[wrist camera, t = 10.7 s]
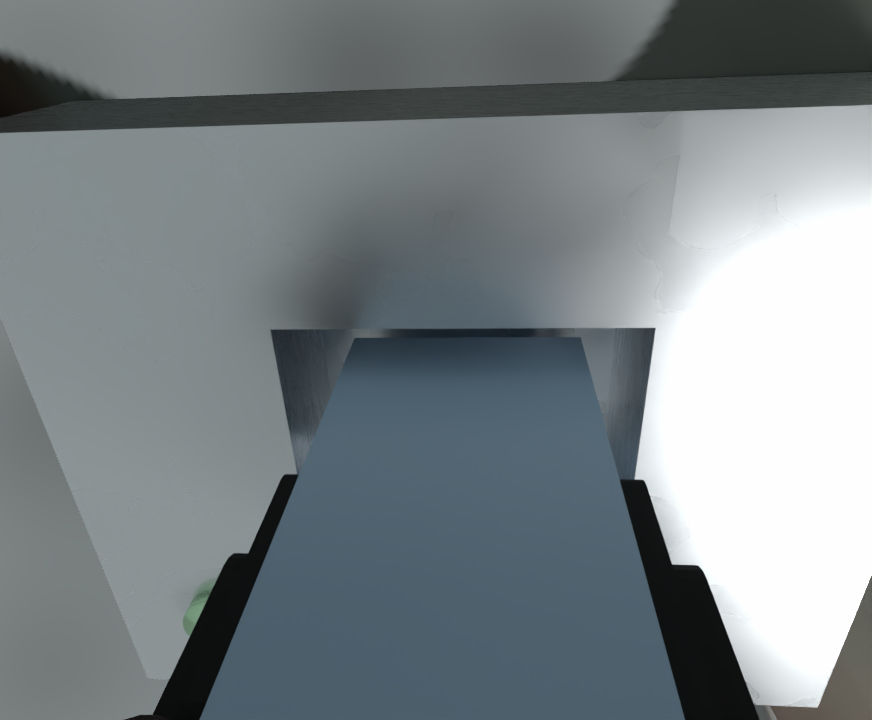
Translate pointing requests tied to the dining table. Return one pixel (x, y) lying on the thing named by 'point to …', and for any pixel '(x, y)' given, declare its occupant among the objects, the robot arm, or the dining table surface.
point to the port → (461, 313)
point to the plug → (453, 551)
